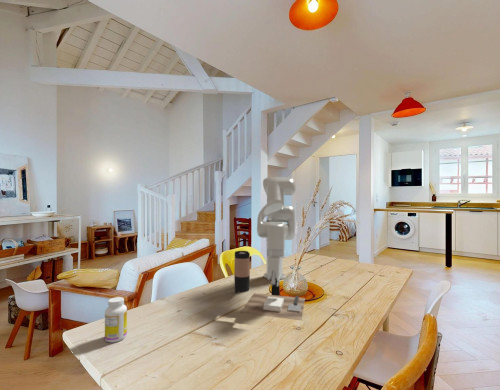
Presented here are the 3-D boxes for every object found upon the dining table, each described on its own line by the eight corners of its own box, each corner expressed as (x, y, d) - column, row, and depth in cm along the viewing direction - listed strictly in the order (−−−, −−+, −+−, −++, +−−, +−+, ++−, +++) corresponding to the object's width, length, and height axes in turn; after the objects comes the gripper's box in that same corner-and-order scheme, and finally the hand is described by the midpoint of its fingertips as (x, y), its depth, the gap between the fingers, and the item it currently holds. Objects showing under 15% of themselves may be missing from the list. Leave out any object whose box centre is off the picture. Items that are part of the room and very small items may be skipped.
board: (254, 296, 125) (254, 292, 125) (305, 301, 119) (305, 298, 119) (240, 316, 104) (240, 312, 104) (301, 324, 98) (301, 320, 98)
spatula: (291, 297, 120) (291, 295, 120) (302, 298, 119) (302, 296, 119) (287, 310, 106) (287, 308, 106) (300, 312, 104) (300, 309, 104)
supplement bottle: (121, 330, 92) (121, 294, 92) (130, 337, 88) (130, 298, 88) (101, 338, 87) (101, 299, 87) (109, 345, 83) (110, 305, 83)
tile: (268, 296, 115) (263, 304, 107) (283, 298, 113) (280, 306, 105) (268, 301, 115) (263, 309, 107) (283, 303, 113) (280, 311, 105)
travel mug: (231, 293, 129) (231, 252, 129) (239, 288, 135) (239, 250, 136) (244, 296, 125) (245, 254, 125) (252, 291, 132) (252, 251, 132)
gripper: (270, 248, 122) (270, 288, 122) (263, 255, 107) (263, 300, 107) (286, 249, 120) (286, 289, 120) (281, 256, 105) (281, 302, 105)
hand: (275, 294), depth 113 cm, fingers closed
